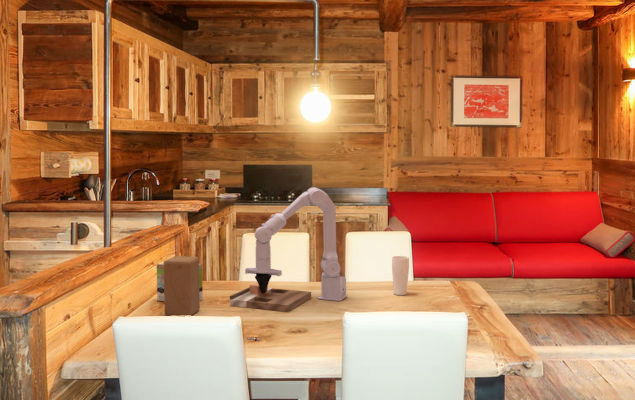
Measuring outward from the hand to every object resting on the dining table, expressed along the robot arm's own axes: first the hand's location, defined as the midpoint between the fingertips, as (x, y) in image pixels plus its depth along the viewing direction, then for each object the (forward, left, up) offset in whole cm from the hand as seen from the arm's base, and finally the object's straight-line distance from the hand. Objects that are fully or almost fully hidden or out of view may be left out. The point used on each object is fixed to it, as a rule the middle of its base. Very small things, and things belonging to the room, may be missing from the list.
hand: (263, 292), depth 250 cm
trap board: (-4, 0, -3) cm, 5 cm away
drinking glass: (-46, -30, -3) cm, 55 cm away
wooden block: (+20, +26, -3) cm, 33 cm away
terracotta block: (+3, -3, -1) cm, 4 cm away
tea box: (+31, +11, -3) cm, 33 cm away
